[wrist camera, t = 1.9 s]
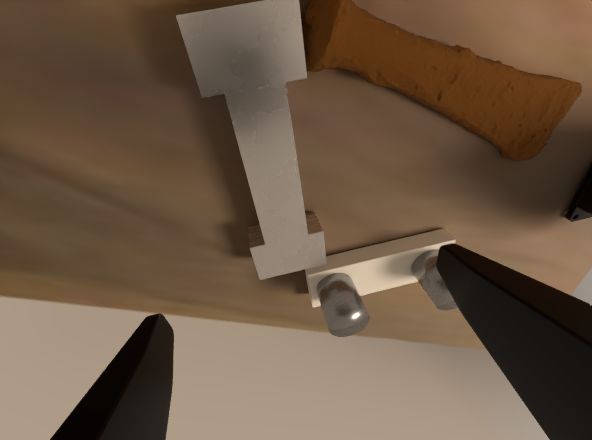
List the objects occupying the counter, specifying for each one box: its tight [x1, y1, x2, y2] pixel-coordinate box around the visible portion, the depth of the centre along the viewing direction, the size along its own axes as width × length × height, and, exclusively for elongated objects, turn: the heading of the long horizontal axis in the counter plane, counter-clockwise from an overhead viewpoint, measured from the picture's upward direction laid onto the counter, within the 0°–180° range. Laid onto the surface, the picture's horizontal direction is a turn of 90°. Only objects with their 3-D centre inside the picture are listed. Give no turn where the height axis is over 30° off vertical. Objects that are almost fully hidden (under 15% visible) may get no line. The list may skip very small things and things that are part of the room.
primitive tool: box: [302, 0, 582, 161], centre depth 16 cm, size 19×6×4 cm, turn 74°
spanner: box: [176, 0, 327, 280], centre depth 16 cm, size 5×15×2 cm, turn 8°
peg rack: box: [305, 228, 458, 337], centre depth 22 cm, size 12×4×5 cm, turn 98°
